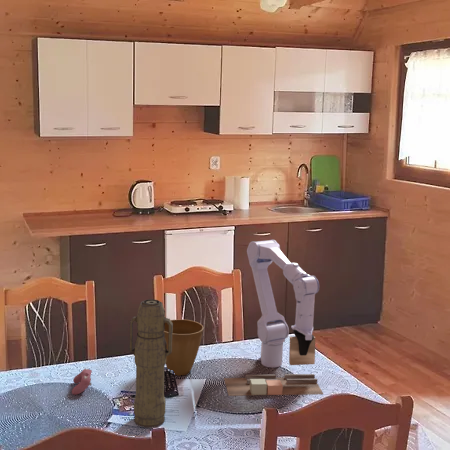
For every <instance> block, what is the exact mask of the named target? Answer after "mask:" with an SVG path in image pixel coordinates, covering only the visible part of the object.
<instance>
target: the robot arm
mask: <svg viewBox="0 0 450 450" xmlns="http://www.w3.org/2000/svg"><path fill="white" fill-rule="evenodd" d="M246 254H247V259H248V263H249V267H251V272H252V276H253V281H254V285H255V290H256V293H257V297H258V302H259V303H258V304H259V307H260V311H261V317H260V318H259V319H258V320H257V322H256V323H257V337H258V339H259V340H260V342H261V347H260V359H261V360H260V361H261V362H260V363H261V365H262V366H264V367H267V368H279V367H281V366H282V365H283V355H284V354H283V353H284V343H285V342H286V339H287V338H288V337H289V334H290V329H289V326H288V324H287V322H286V320H285V319H286V318H285V317H284V315H282V314H281V313H279V312H278V310H277V306H276V301H275V298H274V297H275V296H274V292H273V288H272V284H271V280H270V275H269V271H268V268H269V266H270V265H272V263H273V262H274V263H275V265H276V266H278V267H279V268H280V269H281V270H282V274H283V276H284V277H285V278H286V279H287V281H288V282H289V283H290V284H291V286H293V292H294V297H295V301H296V304H295V305H296V306H295V321H294V325H291V329H292V332H293V334H294V336H296V337H297V339H298V343H299V353H300V355H307V352H308V349H309V346H310V344H311V342H312V340H313V339H314V337H315V335H314V334H313V333H314V316H315V303H316V302H315V297H316V294H318V293H319V291H320V282H319V280H318V278H317V277H316V275H310V274H308V273H307V272H305V270H304V269H303V268H302V267H300V265H299V263H297V262H291V261H290V260H289V259H288V258H287V256H286V255H285V254H284V252H283V251H282V250H281V245H280V244H279V243H278V242H277V240H275V239H269V240H258V241H250V242H249V243H248V246H247V249H246Z"/></svg>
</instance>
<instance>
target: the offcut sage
mask: <svg viewBox="0 0 450 450" xmlns="http://www.w3.org/2000/svg"><path fill="white" fill-rule="evenodd" d="M266 391H267V383H266V381H265V379H250V392H251V395H250V396H267V395H266Z"/></svg>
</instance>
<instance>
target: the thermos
mask: <svg viewBox="0 0 450 450" xmlns="http://www.w3.org/2000/svg"><path fill="white" fill-rule="evenodd" d="M171 320H172V319H170V318H168V317H166V310H165V307H164V304H163V302H162V301H161V300H158V299H150V298H149V299H145V300H142V301H140V303H139V307H138V308H137V315H136V316H133V317H132V318H131V320H130V321H129V354H133V355H132V356H134V364H135V366H136V367H135V370H136V371H135V398H134V401H133V415H134V418H133V422H134V423H135V424H134V425H136V426H138V427H141V428H145V429H146V428H147V429H149V428H151V429H152V427H153V428H158V427H160V426H162V425H163V424H164V423H165V420H166V418H165V414H166V405H167V404H166V397H165V366H166V356H168V355H169V354H171V352H172V331H173V323H172V321H171ZM134 322H135V323H137V327H136V329H137V335H136V338H135V339H136V340H135V342H134V344H133V341H134V340H133V333H134V332H133V331H134V329H133V328H134V327H133V326H134V325H133V324H134ZM165 323H167V324H168V325H169V338H168V351H167V349H166V346H167V343H166V340H165V333H164V330H165ZM133 345H134V347H133Z"/></svg>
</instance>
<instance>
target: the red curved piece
mask: <svg viewBox="0 0 450 450" xmlns="http://www.w3.org/2000/svg"><path fill="white" fill-rule="evenodd" d="M92 372H93V371H92V369H90V368H86V367H85V368H84V369H82V370H81V372H79V373H77V375H75V376H74V377H73V379H72V381H73V383H74V384H76V385H75V386H74V387H73V389H71V394H72V395H74V396H75V395H79V394H81V393H83V392H85V391H86V390H87V389H88V388H89V387H91V386H92V382H91V381H92V378H91V375H92Z"/></svg>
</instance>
